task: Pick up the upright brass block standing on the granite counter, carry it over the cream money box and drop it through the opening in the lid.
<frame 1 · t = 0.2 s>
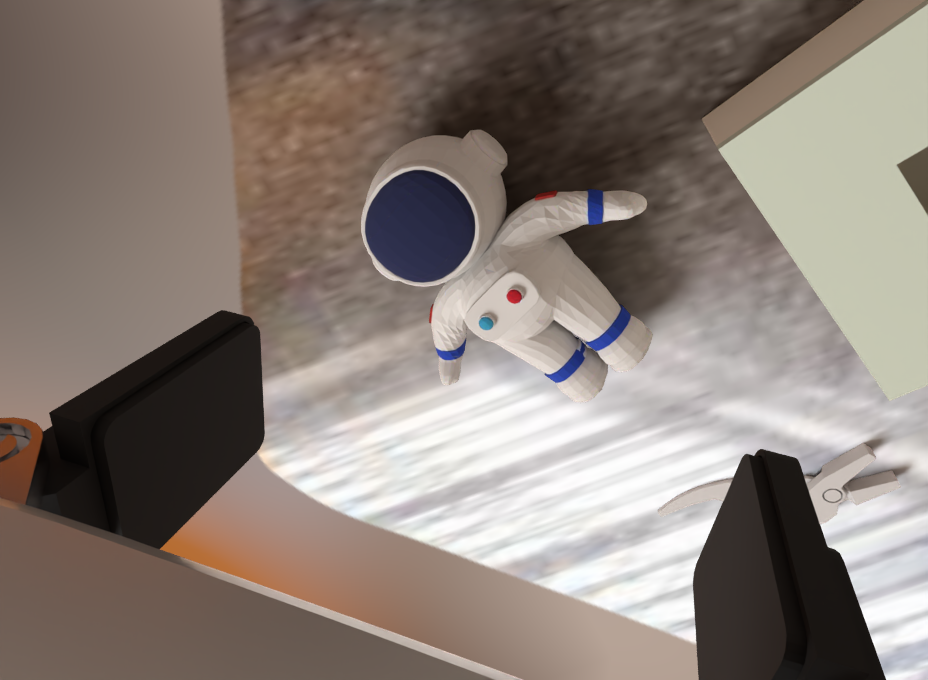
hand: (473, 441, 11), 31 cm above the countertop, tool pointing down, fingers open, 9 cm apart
toy: (518, 251, 42), on the countertop
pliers: (780, 502, 45), on the countertop
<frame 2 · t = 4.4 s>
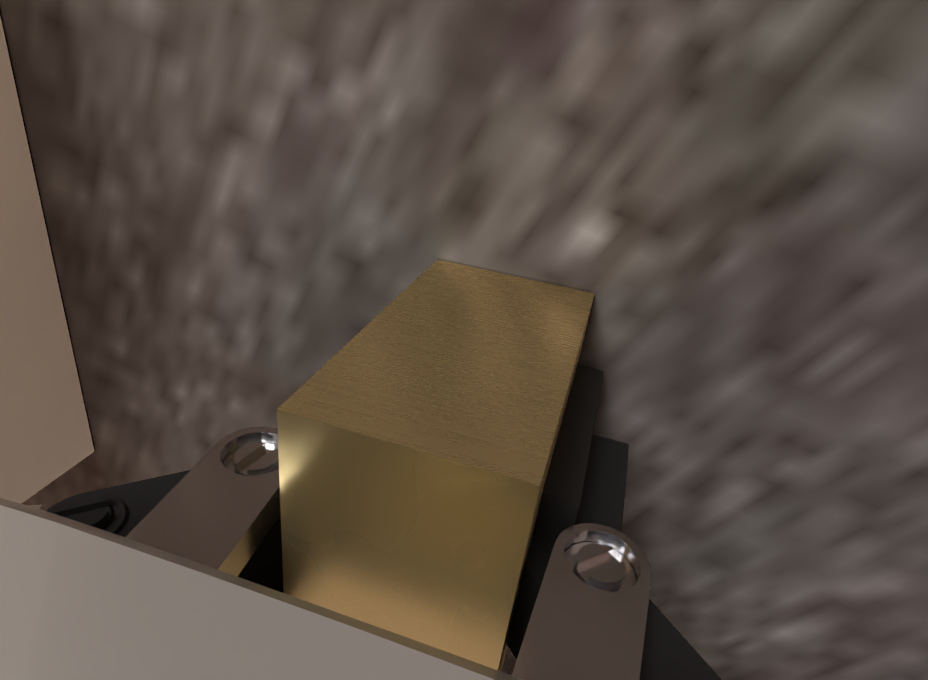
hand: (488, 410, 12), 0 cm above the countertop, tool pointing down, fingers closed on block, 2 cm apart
block: (491, 408, 12), on the countertop, touching gripper
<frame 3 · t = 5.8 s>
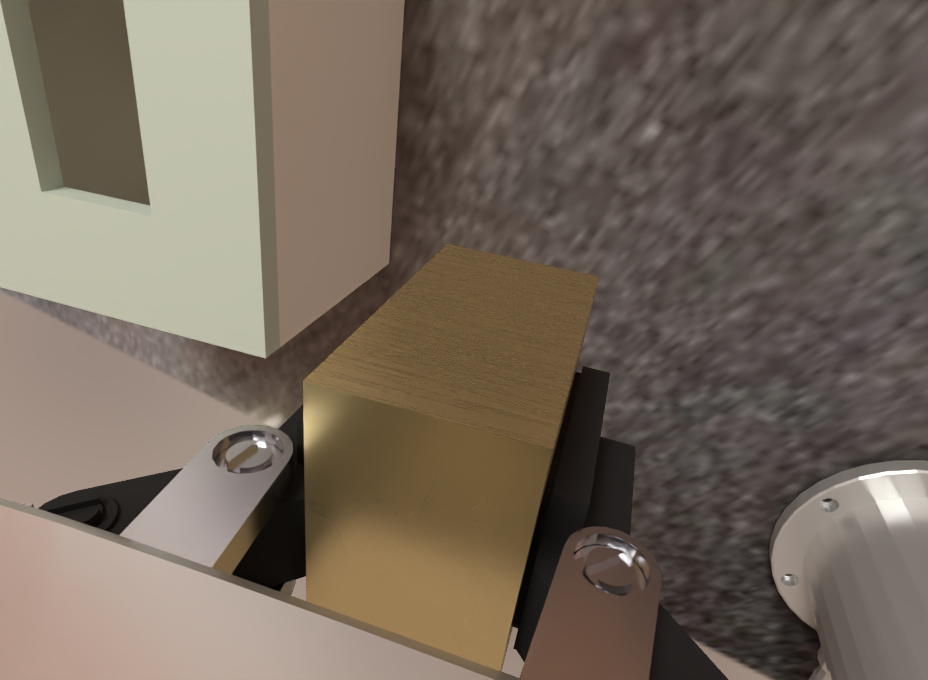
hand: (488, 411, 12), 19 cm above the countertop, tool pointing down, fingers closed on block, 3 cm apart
block: (498, 389, 13), point 18 cm above the countertop, touching gripper
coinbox: (272, 71, 31), on the countertop
when the fingers open (14 cm above the countertop, at t = 7.8 s): block drops 13 cm, resting on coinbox.
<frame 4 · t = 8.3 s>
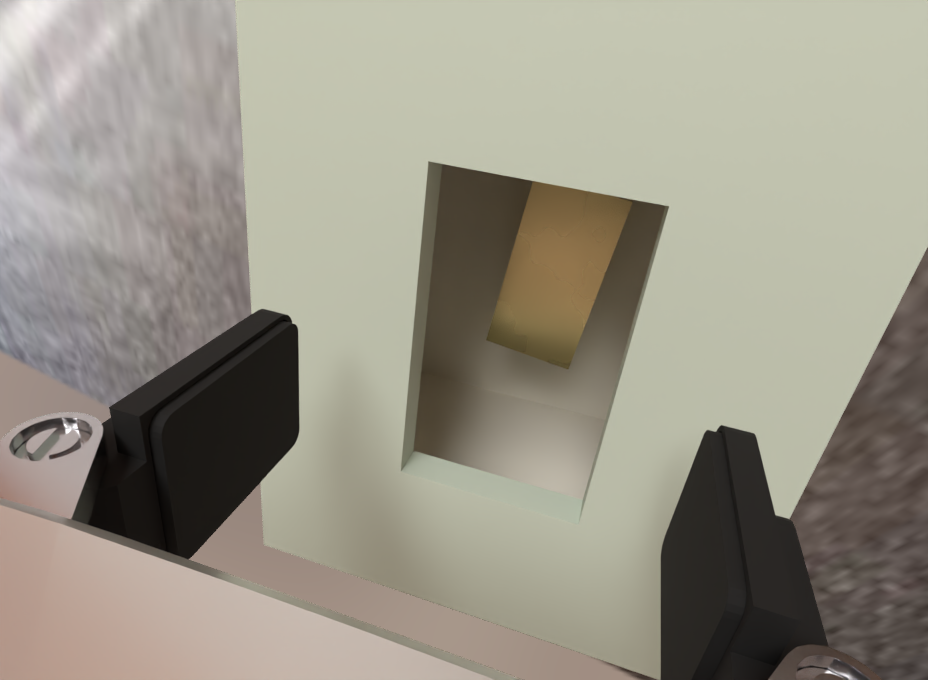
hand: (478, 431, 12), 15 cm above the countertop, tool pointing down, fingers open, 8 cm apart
block: (574, 231, 24), point 1 cm above the countertop, touching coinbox
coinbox: (574, 229, 24), on the countertop
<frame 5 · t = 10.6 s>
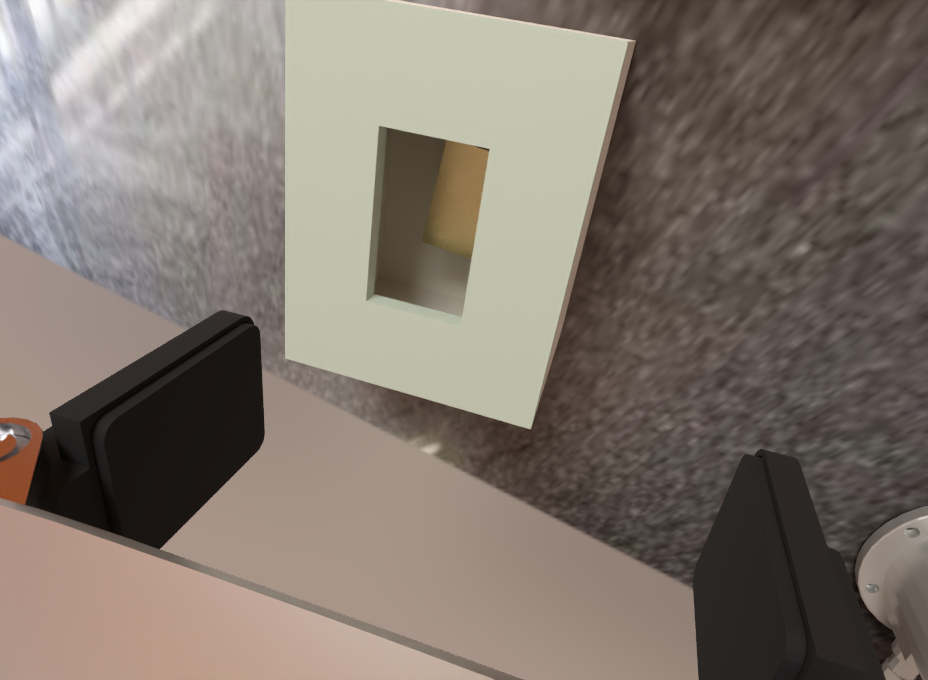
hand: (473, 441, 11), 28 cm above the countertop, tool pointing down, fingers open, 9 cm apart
block: (483, 180, 37), point 1 cm above the countertop, touching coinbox
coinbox: (485, 179, 38), on the countertop
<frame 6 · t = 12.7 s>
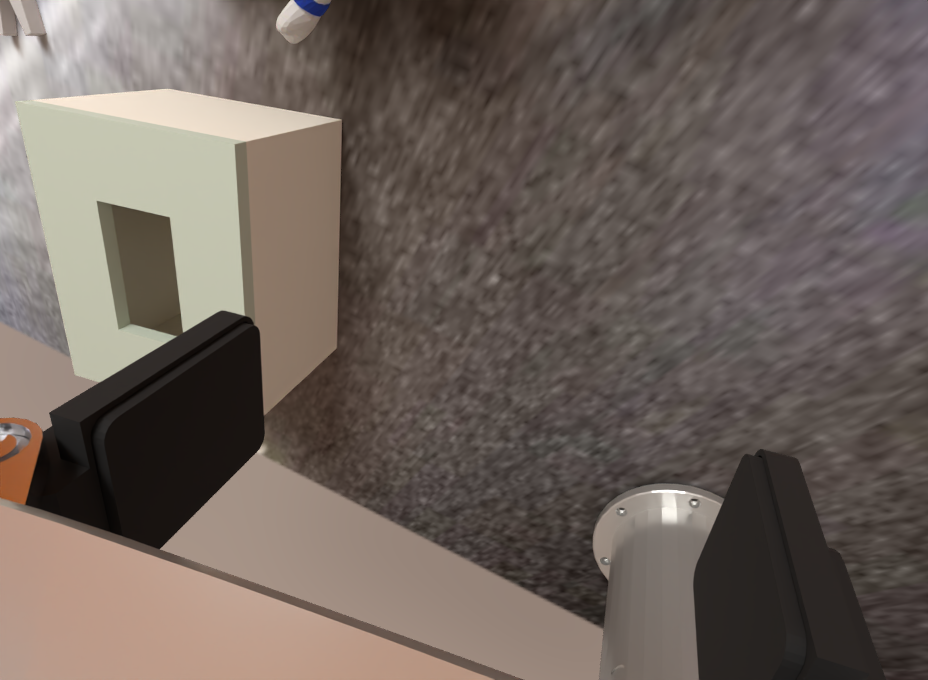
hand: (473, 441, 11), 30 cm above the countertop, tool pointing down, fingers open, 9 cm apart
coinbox: (257, 226, 47), on the countertop
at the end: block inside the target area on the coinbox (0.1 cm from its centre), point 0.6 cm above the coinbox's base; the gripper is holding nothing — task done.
